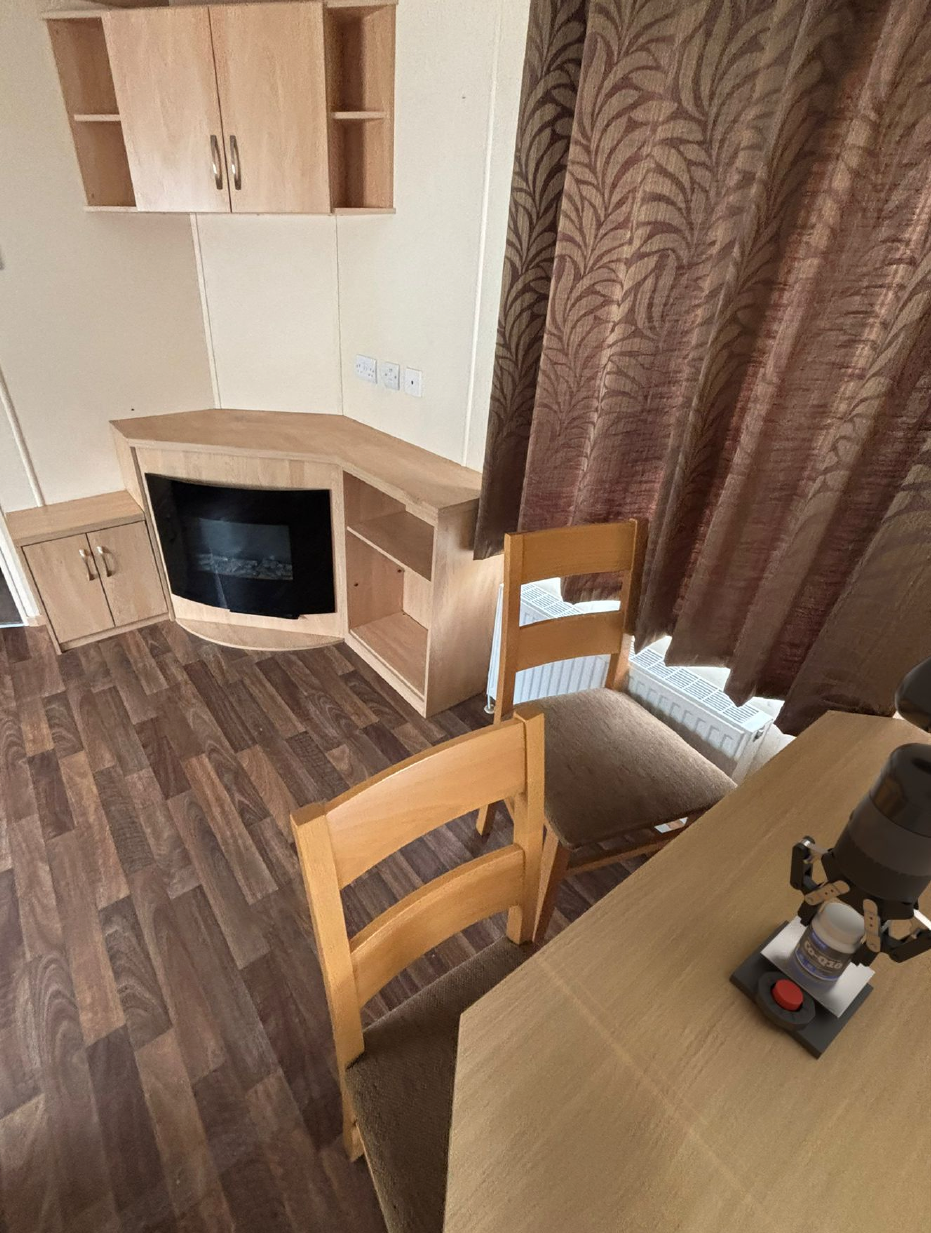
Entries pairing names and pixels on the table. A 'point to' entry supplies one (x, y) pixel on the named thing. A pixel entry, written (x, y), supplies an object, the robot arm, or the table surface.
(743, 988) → the scale
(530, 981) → the table surface
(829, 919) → the pill bottle
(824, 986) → the pan
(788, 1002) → the tare button
